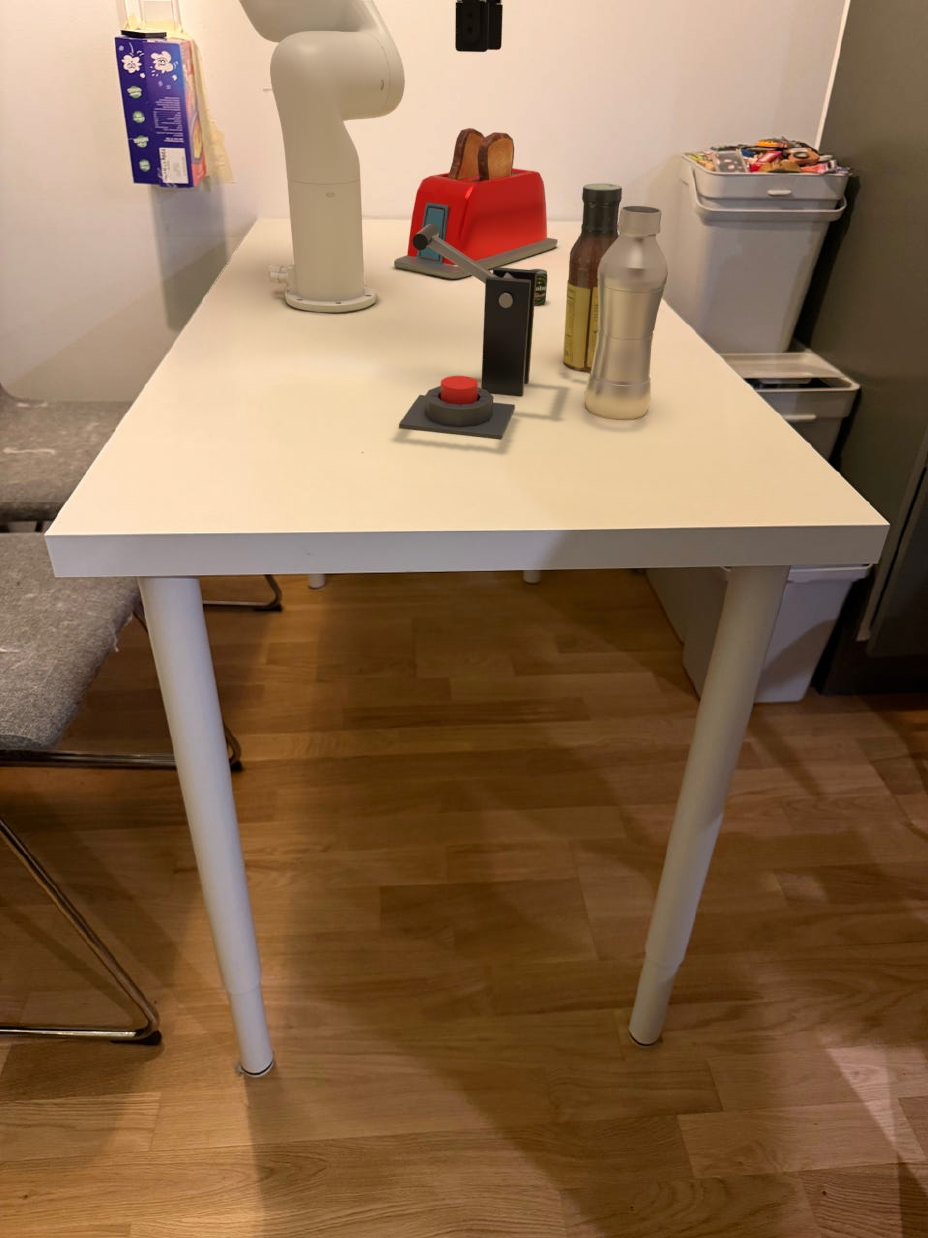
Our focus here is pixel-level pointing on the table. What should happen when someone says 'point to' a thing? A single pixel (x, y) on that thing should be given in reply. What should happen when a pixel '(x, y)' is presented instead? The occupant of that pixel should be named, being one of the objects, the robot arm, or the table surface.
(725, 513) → the table surface
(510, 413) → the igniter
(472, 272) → the lever
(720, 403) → the table surface
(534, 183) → the toaster
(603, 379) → the plastic bottle
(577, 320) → the sauce bottle
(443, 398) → the button
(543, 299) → the beer can
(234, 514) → the table surface
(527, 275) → the bracket
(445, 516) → the table surface
